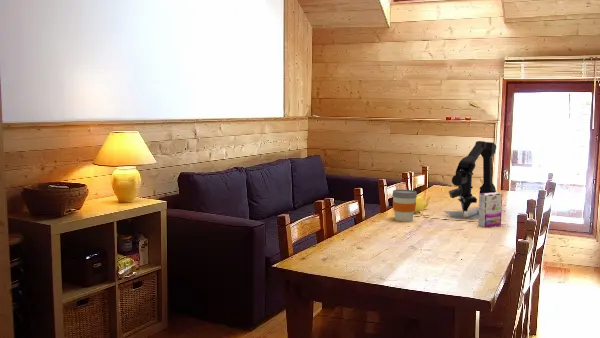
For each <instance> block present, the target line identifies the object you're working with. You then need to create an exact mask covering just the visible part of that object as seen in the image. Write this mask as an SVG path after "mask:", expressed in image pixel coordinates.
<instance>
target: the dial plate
mask: <svg viewBox="0 0 600 338" xmlns="http://www.w3.org/2000/svg"><path fill="white" fill-rule="evenodd" d="M443 212H444V213H445V214H447V215H449V216H451V217H452V218H454V219H456V220H457V219H458V220H459V219H462V220H463V219H464V220H465V219H466V220H467V219H469V220H471V219H474V220H479V214H475V215H472V216H469V217H464V213H463V210H460V211H459V210H450V211H449V210H444V211H443Z"/></svg>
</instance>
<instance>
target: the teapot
mask: <svg viewBox="0 0 600 338" xmlns="http://www.w3.org/2000/svg"><path fill="white" fill-rule="evenodd" d="M431 197H432V195H429V196H427V197H426V199H425V201H424V199H423V197H422V196H421V195H417V198H416V207H415V211H414V214H421V213H422V212H423V211H425V209H426V208H427V207H428V206H429V202H430V201H429V200H430V198H431Z"/></svg>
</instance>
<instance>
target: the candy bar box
mask: <svg viewBox="0 0 600 338" xmlns="http://www.w3.org/2000/svg"><path fill="white" fill-rule="evenodd" d="M478 195H479V196H478V197H479V199H478V208H479V219H478V220H477V222H478V223H477V225H478V226H479V227H482V228H493V227H500V226H501V225H502V211H503V210H502V208H503V205H502V204H503V193H502V192H498V191H496V192H493V193H483V194H480V193H479V194H478Z"/></svg>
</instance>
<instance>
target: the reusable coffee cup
mask: <svg viewBox="0 0 600 338" xmlns="http://www.w3.org/2000/svg"><path fill="white" fill-rule="evenodd" d="M417 196H418V193H417V191H416V190H412V189H394V190H392V196H391V197H392V199H393V200H392V208H393V211H394V220H395V221H397V222H402V223H403V222H405V223H406V222H412V221H413V219H414V214H415V213H414V211H415V207H416V198H417Z"/></svg>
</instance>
